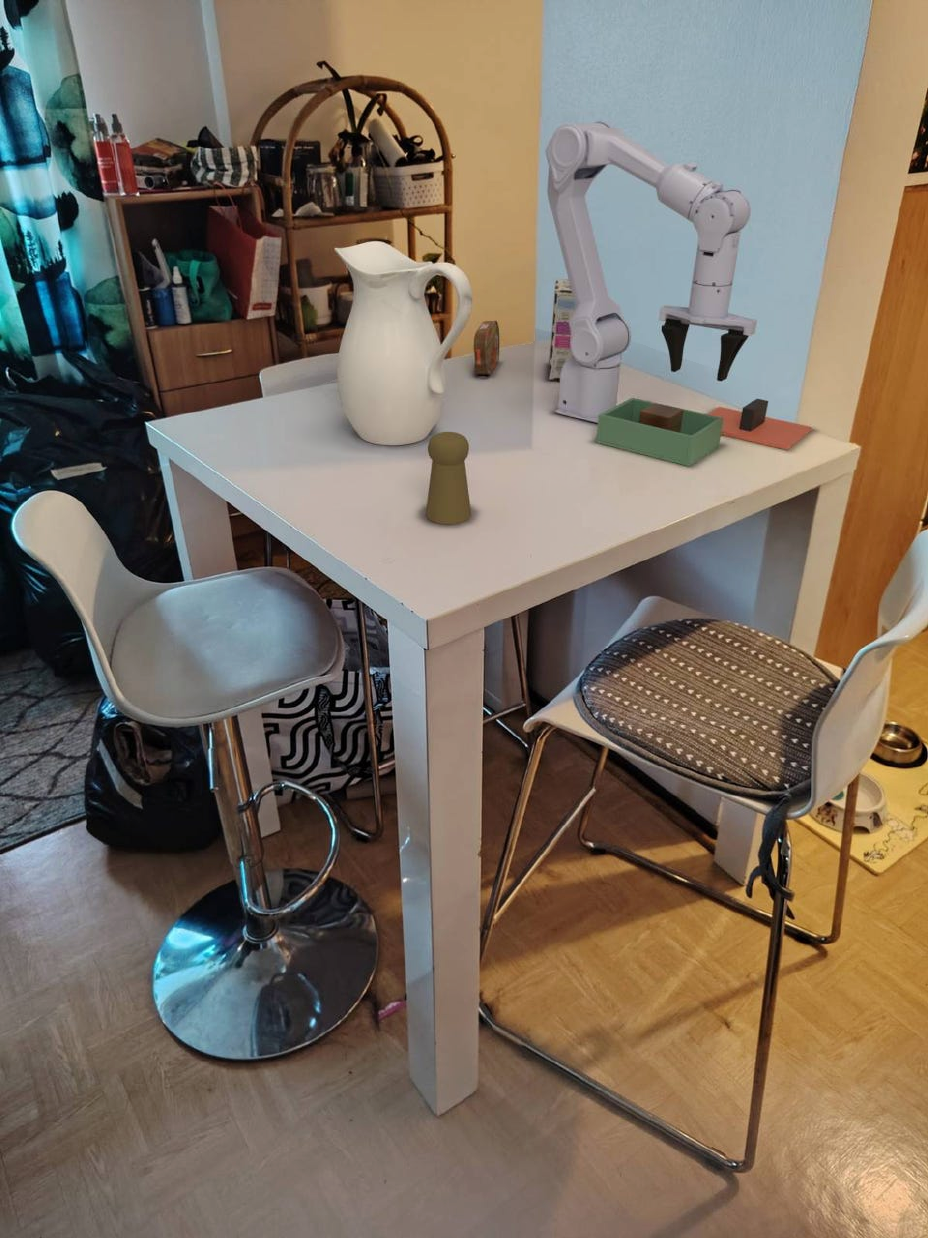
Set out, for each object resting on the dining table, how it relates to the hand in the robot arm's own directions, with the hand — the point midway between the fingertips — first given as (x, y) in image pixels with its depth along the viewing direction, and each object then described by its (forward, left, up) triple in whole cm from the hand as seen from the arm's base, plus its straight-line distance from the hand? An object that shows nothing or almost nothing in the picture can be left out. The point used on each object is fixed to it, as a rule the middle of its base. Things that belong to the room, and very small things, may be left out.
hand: (698, 374), depth 137 cm
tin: (-48, +11, -11) cm, 50 cm away
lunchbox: (-3, -5, -10) cm, 12 cm away
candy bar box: (-35, +18, -11) cm, 41 cm away
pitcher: (-35, -28, -11) cm, 46 cm away
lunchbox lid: (+6, +11, -10) cm, 16 cm away
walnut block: (-3, -5, -10) cm, 11 cm away
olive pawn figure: (-13, -46, -11) cm, 49 cm away
